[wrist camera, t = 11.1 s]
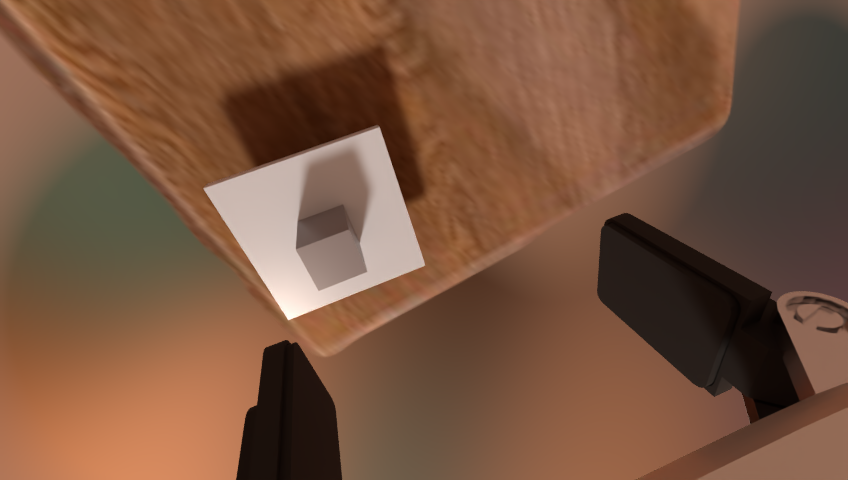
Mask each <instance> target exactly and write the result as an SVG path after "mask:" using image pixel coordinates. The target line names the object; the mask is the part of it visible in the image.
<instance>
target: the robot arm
mask: <svg viewBox="0 0 848 480" xmlns="http://www.w3.org/2000/svg"><path fill="white" fill-rule="evenodd" d="M599 258H600V259H599V274H598V288H597V293H598V296H599V298H600V300H601V301H602V302H603V304H605V305H606V306H607V307H608V308H609V309H610V310H611V311H613V312H614V313H615V314H616V315H617V316H618V317H619V318H621V320H623V321H624V322H625V323H626V324H627V325H628V326H629V327H630V328H632V329H633V330H634V331H635V332H636V333H637V334H638V335H639V336H640V337H642V338H643V339H644V340H645V341H646V342H647V343H648V344H649V345H651V346H652V347H653V348H654V349H655V350H656V351H657V352H658V353H660V354H661V355H662V356H663V357H664V358H665V359H666V360H667V361H668V362H670V363H671V364H672V365H673V366H674V367H675V368H676V369H677V370H679V371H680V372H681V373H682V374H683V375H684V376H686V378H688V379H689V380H690V381H691V382H692V383H693V384H695V385H696V386H698V387H701V388H703V387H704V388H705V389H706V390H707V391H708V392H709V393H710V394H712V395H713V396H714V397H715V396H717V395H719V394H721V393H723V392H725V391H728V390H730V389H731V388H732V386H734V387H735V388H737V389H738V390H739V391H740V392H741V393H742V396H743V399H744V404H745V407H746V411H747V414H748V417H749V421H750V425H748V426H746V427H744V428H742V429H739V430H737V431H735V432H733V433H731V434H729V435H727V436H725V437H723V438H721V439H719V440H717V441H715V442H712V443H710V444H709V445H706V446H704V447H702V448H700V449H698V450H696V451H694V452H692V453H690V454H688V455H685V456H683V457H681V458H679V459H677V460H675V461H673V462H671V463H669V464H667V465H665V466H663V467H661V468H659V469H657V470H654V471H653V472H650V473H648V474H646V475H644V476H642V477H640V478H638V479H636V480H848V303H846V302H844V301H842V300H840V299H837V298H835V297H831V296H828V295H825V294H821V293H814V292H802V291H800V292H799V291H796V292H791V293H786V294H784V295H783V296H781V297H779V299H778V301H777V302H775V301H774V300H772V299H770V296H771V293H772V292H771V291H769V290H767V289H766V288H764V287H762V286H760V285H758V284H757V283H755V282H753V281H751V280H749V279H747V278H746V277H744V276H742V275H740V274H738V273H737V272H735V271H733V270H731V269H729V268H727V267H726V266H724V265H722V264H720V263H718V262H716V261H715V260H713V259H711V258H709V257H707V256H705V255H704V254H702V253H700V252H698V251H696V250H695V249H693V248H691V247H689V246H687V245H685V244H684V243H682V242H680V241H678V240H676V239H674V238H673V237H671V236H669V235H667V234H665V233H664V232H662V231H660V230H658V229H656V228H655V227H653V226H651V225H649V224H647V223H645V222H644V221H642V220H640V219H638V218H636V217H634V216H633V215H631V214H628V213H624V214H621V215H618V216H615V217H613V218H610V219H608V220H606V222H605V224H604V226H603V227H602V229H601V241H600V257H599ZM236 480H342V473H341V462H340V451H339V441H338V430H337V418H336V410H335V405H334V402H333V400H332V398H331V396H330V395H329V393H328V391H327V390H326V388H325V387H324V385H323V383H322V382H321V380H320V379H319V377H318V375H317V374H316V372H315V370H314V369H313V367H312V365H311V364H310V363H309V361H308V359H307V357H306V356H305V354H304V353H303V351H302V349H301V348H300V346H299V345H298V343H296V342H295V343H293V344H291V343H290V342H289V341H288V340H285V341H282V342H280V343H277V344H274V345H272V346H269V347H266V348H265V349H264V353H263V360H262V369H261V377H260V386H259V394H258V402H257V405H256V406H254V407H252V408H250V409H249V410H248V412H247V414H246V418H245V424H244V431H243V437H242V444H241V451H240V458H239V465H238V471H237V478H236Z"/></svg>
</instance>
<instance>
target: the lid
mask: <svg viewBox="0 0 848 480" xmlns="http://www.w3.org/2000/svg"><path fill="white" fill-rule="evenodd" d="M203 189H204V190H205V192H206V193H207V195H208V196H209V198H210V200H211V201H212V203H213V204H214V206H215V207H216V209H217V210H218V212H219V213H220V215H221V216H222V218H223V220H224V221H225V223H226V224H227V226H228V227H229V229H230V230H231V232H232V233H233V235H234V237H235V238H236V240H237V241H238V243H239V244H240V246H241V247H242V249H243V250H244V252H245V254H246V255H247V257H248V258H249V260H250V261H251V263H252V264H253V266H254V267H255V269H256V270H257V272H258V274H259V275H260V277H261V278H262V280H263V281H264V283H265V284H266V286H267V287H268V289H269V291H270V292H271V294H272V295H273V297H274V298H275V300H276V301H277V303H278V304H279V306H280V308H281V309H282V311H283V312H284V314H285V315H286V317H287V318H288V320H290V319H292V318H295V317H297V316H300V315H302V314H305V313H307V312H310V311H312V310H315V309H317V308H320V307H322V306H325V305H327V304H330V303H332V302H335V301H337V300H340V299H342V298H345V297H347V296H350V295H352V294H355V293H357V292H360V291H362V290H365V289H367V288H370V287H373V286H375V285H378V284H380V283H383V282H385V281H388V280H390V279H393V278H395V277H398V276H400V275H403V274H405V273H408V272H410V271H413V270H415V269H418V268H420V267H423V266H425V263H424V260H423V257H422V254H421V251H420V248H419V245H418V242H417V239H416V236H415V233H414V230H413V227H412V224H411V221H410V218H409V215H408V212H407V209H406V206H405V203H404V200H403V197H402V194H401V191H400V187H399V184H398V181H397V178H396V175H395V172H394V169H393V166H392V163H391V160H390V157H389V154H388V151H387V148H386V145H385V142H384V139H383V136H382V133H381V130H380V127H379V126H378V125H375V126H373V127H370V128H367V129H364V130H361V131H358V132H355V133H352V134H350V135H347V136H344V137H341V138H338V139H335V140H332V141H329V142H327V143H324V144H321V145H318V146H315V147H312V148H309V149H306V150H304V151H301V152H298V153H295V154H292V155H289V156H286V157H284V158H281V159H278V160H275V161H272V162H269V163H266V164H263V165H261V166H258V167H255V168H252V169H249V170H246V171H243V172H240V173H238V174H235V175H232V176H229V177H226V178H223V179H220V180H217V181H215V182H212V183H209V184H206V186H205V187H204V188H203Z"/></svg>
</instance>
